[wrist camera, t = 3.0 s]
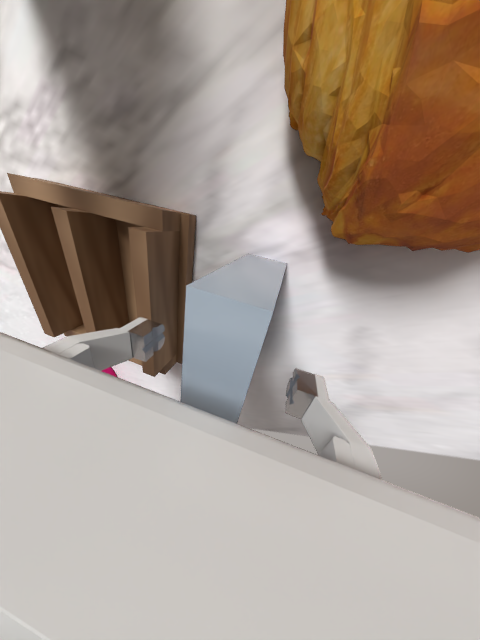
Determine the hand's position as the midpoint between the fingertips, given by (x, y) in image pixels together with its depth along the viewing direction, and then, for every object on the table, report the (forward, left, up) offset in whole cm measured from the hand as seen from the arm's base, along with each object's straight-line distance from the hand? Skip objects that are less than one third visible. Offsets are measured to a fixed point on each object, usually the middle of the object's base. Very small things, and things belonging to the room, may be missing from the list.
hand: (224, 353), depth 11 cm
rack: (+13, +1, -6) cm, 14 cm away
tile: (0, 0, -6) cm, 6 cm away
